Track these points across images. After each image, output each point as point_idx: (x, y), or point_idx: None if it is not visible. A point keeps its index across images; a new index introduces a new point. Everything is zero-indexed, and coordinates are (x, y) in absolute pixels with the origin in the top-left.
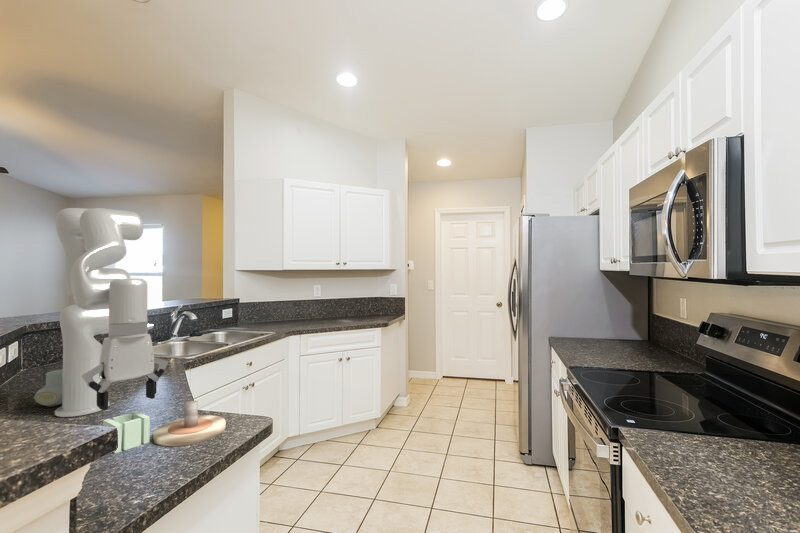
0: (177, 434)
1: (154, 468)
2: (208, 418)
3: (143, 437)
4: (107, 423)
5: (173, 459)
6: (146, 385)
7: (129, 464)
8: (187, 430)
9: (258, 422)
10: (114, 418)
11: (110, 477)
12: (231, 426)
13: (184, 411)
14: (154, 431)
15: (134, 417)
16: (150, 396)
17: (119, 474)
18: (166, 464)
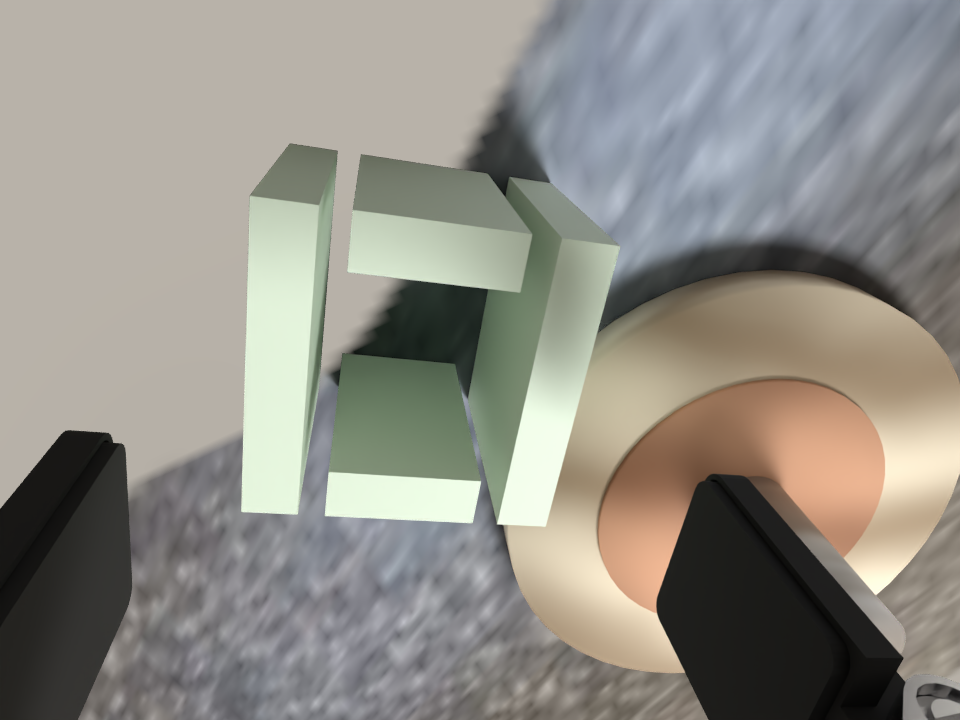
0: (600, 558)
1: (306, 713)
2: (902, 476)
3: (474, 416)
4: (249, 319)
5: (413, 698)
6: (788, 618)
7: (255, 593)
8: (667, 563)
9: (936, 651)
10: (350, 270)
11: (126, 650)
12: None
13: None
14: (587, 377)
15: (535, 307)
16: (670, 606)
17: (169, 654)
18: (362, 717)
